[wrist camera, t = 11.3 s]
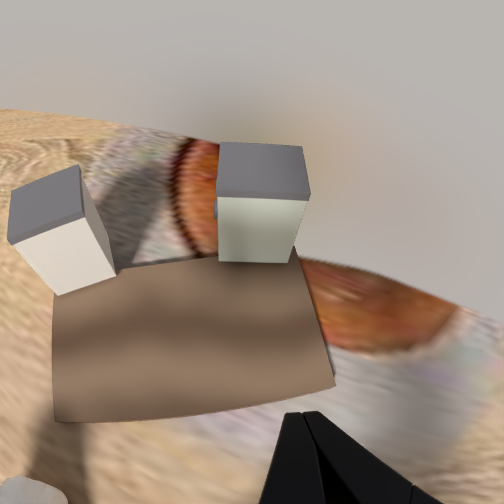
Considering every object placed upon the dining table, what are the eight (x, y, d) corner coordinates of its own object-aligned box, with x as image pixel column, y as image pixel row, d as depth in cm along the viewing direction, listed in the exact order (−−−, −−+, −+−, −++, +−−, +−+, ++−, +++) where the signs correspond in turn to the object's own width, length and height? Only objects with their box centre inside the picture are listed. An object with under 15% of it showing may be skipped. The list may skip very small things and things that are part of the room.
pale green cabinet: (288, 263, 24) (310, 194, 17) (215, 261, 23) (212, 189, 17) (284, 219, 26) (302, 146, 20) (217, 216, 26) (217, 142, 19)
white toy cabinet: (117, 276, 22) (82, 210, 16) (55, 297, 21) (4, 240, 14) (108, 233, 24) (78, 164, 18) (51, 253, 23) (9, 191, 16)
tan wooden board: (331, 387, 20) (336, 385, 19) (61, 422, 17) (55, 421, 16) (292, 252, 26) (294, 245, 25) (60, 284, 23) (55, 278, 22)
